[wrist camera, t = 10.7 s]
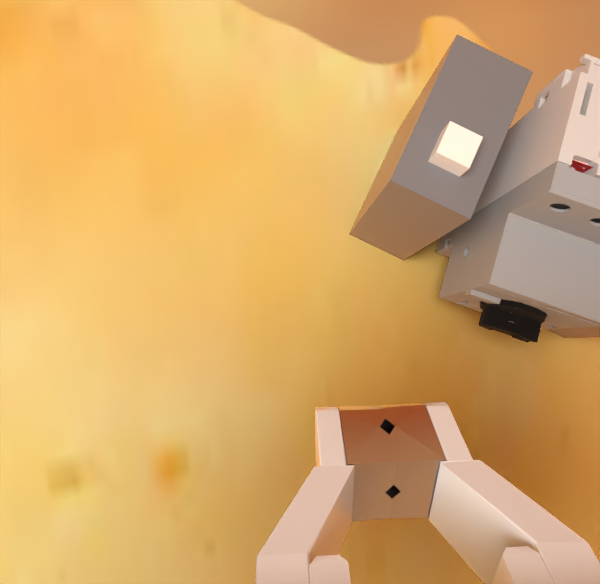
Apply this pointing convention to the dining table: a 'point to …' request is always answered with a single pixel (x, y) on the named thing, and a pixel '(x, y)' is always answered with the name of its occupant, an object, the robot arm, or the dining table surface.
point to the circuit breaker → (537, 219)
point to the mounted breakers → (445, 154)
